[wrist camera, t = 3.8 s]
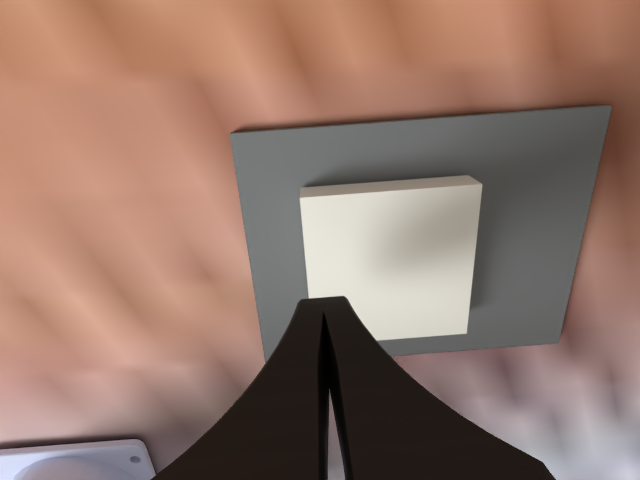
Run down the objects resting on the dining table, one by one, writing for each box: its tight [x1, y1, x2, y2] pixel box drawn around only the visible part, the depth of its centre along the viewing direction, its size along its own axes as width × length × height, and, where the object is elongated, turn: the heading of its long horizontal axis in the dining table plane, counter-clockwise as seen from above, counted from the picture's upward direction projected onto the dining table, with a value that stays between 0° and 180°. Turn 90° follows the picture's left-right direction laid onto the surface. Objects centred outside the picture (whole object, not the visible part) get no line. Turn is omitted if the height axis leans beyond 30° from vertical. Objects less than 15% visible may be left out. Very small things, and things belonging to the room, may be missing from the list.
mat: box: [230, 105, 612, 363], centre depth 15 cm, size 10×13×1 cm
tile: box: [300, 175, 482, 341], centre depth 14 cm, size 6×1×6 cm
